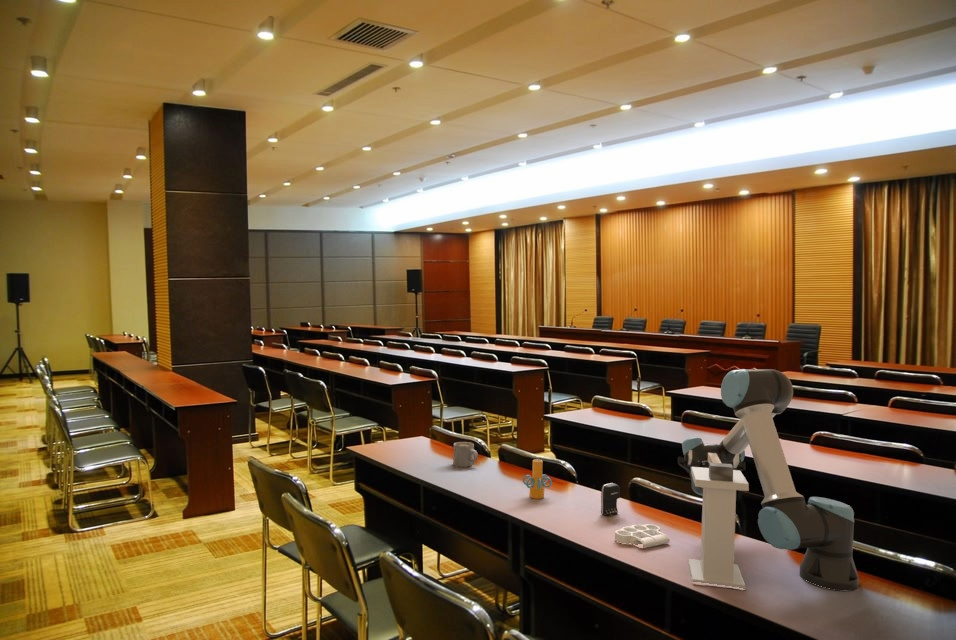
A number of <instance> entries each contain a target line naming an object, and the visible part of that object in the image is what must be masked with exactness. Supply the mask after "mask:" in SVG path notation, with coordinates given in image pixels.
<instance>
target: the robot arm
mask: <svg viewBox="0 0 956 640" xmlns="http://www.w3.org/2000/svg"><path fill="white" fill-rule="evenodd" d="M720 385H721V387H720V395H721V400H722V402H723V403H724V405H726V406H727V407H729V408H732V409H733V411H734V415H735V416H736V417H737V418H739V420H738V421H737V422H736V423H735V425H734V426H733V427H732V429H731V430H730V431H729V432H728V434H726V435H725V437H724V438H723V439H722V441H721V442H718V443H704V441H703V439H702V438H701V437H698V436H696V437H695V436H694V437H690V438H689V437H688V438H686V439H685V440H683V441H682V443H681V446H682V447H681V448H682V453H683V456H684V457H682V456H678V457H677V465H678V466H679V467H681V468H682V469H684V470H685V471H686V473H687V474H689V477H690V480H691V481H690V482H691V483H690V484H691V489H692V491H693V492H694V493H695V494H697V495H699V496H702V497H703V487H695V484H694V480H693V477H692V474H691V467H702V468H709V462H708V453H716V454H717V456H718V458H719V459H720V461H721V463H723V464H731V465H732V466H733V470H740V471H741V472H743V471H746V462H745V461H744V459H745V456H746V451H745V450H746V449H747V448H748V446H749V447H750V448H749V449H750V451H751V454H752V457H753V461H754V464H755V468H756V471H757V476H758V479H759V481H760V484H761V487H762V491H763V494H764V498H763V500H762V501H761V503H760V504H761V507H762V509H760V510H759V512H758V515H757V516H758V517H757V518H758V519H757V524H758V528H759V531H760V533H761V536H762V537H763V539H764V540H765V541H766V542H767V543H768V544H769V545H771V547H773V548H775V549H778V550H789V551H792V550H797V549H806V551H805V553H804V555H803V558H802V561H801V563H800V564H799V576H800V577H801V578H802V579H803V580H804V579H805V580H804V581H806V580H807V581H809V582H811V583H814V584H816V585H819V586H822V587H821V588H823V587H826V588H825V589H827V588H830V589H829V590H832V589H835V590H834V591H840V590H849V591H854V590H857V589H858V588H857V587H859V584H860V577H859V573H858V572H857V567H856V565H855V562H854V559H853V553H854V552H853V551H854V550H853V549H854V533H855V531H854V530H855V518H854V516H855V512H854V509H853V508H852V506H850V505H848V504H846V503H844V502H841V501H838V500H836V499H831V498H826V497H820V496H810V497H809V498H808V501H807V503H806V500H805V497H804V495H802V494H800V493H799V492H797V491H796V487H795V484H794V481H793V478H792V474H791V471H790V469H789V465H788V463H787V459H786V457H785V453H784V450H783V447H782V443H781V440H780V438H779V433H778V432H777V431H778V430H777V428H776V426H775V422H774V419H773V418H774V417H775V416H776V415H780V414H782V413H783V412H785V410H786V409H787V408H788V406H789V405H790V404H791V401H792V399H793V396H794V386H793V384H792V382H791V380H790V378H789V377H788V376H787V375H786V374H785V373H783V372H782V371H779V370H776V369H772V368H770V369H768V368H766V369H745V368H740V369H733V370H730V371H729V372H727V374H726V375H725V376H724V377H723V379H722V382H721V384H720ZM807 581H806V582H807ZM809 582H808V583H809ZM811 583H810V584H811ZM814 584H813V585H814ZM816 585H815V586H816ZM819 586H818V587H819ZM853 589H854V590H853Z"/></svg>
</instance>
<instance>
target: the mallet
mask: <svg viewBox="0 0 956 640" xmlns="http://www.w3.org/2000/svg"><path fill="white" fill-rule="evenodd" d="M708 462H709V478H710V480H718V481H730V482H733V466H732V465H731V464H723V463H721V461H720V459H719V458H718V456H717V454H716V453H708Z"/></svg>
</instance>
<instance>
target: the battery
mask: <svg viewBox="0 0 956 640" xmlns="http://www.w3.org/2000/svg"><path fill="white" fill-rule="evenodd" d="M620 488H621V487H620V486H619V485H618V484H616V483H613V482H610V483H606V484H603V485H602V486H601V491H600V492H601V495H600V503H601V506H600V514H601V515H603V516H606V517H610V516H614V515H618V513H619V512H618V503H617V502H618V499H621V489H620Z"/></svg>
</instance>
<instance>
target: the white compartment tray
mask: <svg viewBox="0 0 956 640" xmlns="http://www.w3.org/2000/svg"><path fill="white" fill-rule="evenodd" d="M615 540H616V541H618V542H621V543H626V544H629V543H631V544H635V545H638V544H643V548H644V549H647V547H648V548H652V547H657V546H661V545H667V544H669V543H670V542H671V541H670V538H669V536H668V535H667V534H665V533H663V532H661V528H660V526H658V525H656V524H652V523H651V524H650V523H646V524H632V525H630V526H622V528H621V529H617V530H615V531H614V541H615ZM666 543H667V544H666ZM643 548H642V549H641V550H643Z"/></svg>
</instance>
